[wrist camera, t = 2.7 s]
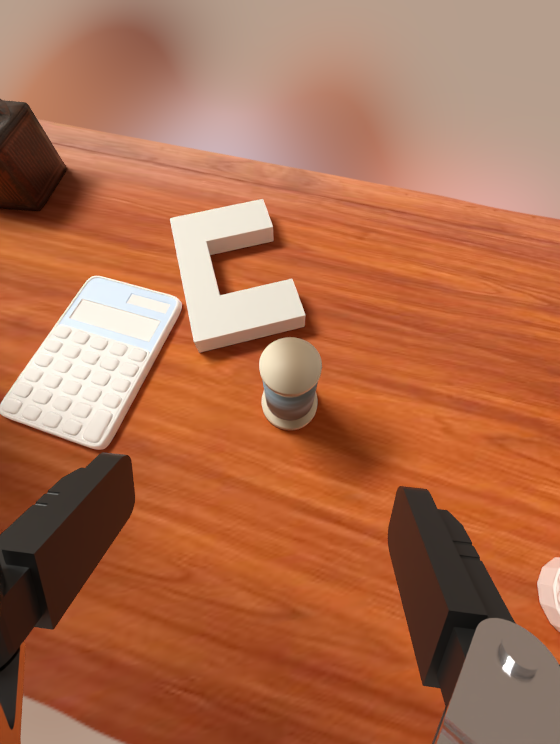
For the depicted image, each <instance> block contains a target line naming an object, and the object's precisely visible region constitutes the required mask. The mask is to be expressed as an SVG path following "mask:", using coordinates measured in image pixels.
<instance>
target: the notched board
mask: <svg viewBox="0 0 560 744" xmlns="http://www.w3.org/2000/svg"><path fill="white" fill-rule="evenodd" d="M170 222H171V227H172V232H173V237H174V242H175V247H176V252H177V258H178V263H179V268H180V273H181V278H182V283H183V288H184V293H185V298H186V304H187V309H188V314H189V319H190V324H191V329H192V334H193V339H194V343H195V345H196V347H197V349H198V351H199V353H200V352H204V351H208V350H213V349H217V348H221V347H225V346H229V345H233V344H237V343H241V342H245V341H249V340H253V339H257V338H261V337H265V336H269V335H273V334H277V333H281V332H285V331H289V330H293V329H297V328H301V327H305V316H306V315H305V312H304V309H303V307H302V304H301V301H300V299H299V296H298V293H297V290H296V288H295V285H294V282H293V280H292V279H288V280H284V281H280V282H276V283H271V284H267V285H263V286H258V287H254V288H250V289H245V290H241V291H237V292H232V293H228V294H224V295H220V293H219V289H218V285H217V281H216V277H215V273H214V269H213V265H212V261H211V257H210V255H213V254H218V253H222V252H227V251H231V250H236V249H240V248H245V247H250V246H254V245H259V244H263V243H268V242H272V241H274V236H273V225H272V222H271V220H270V217H269V214H268V212H267V209H266V206H265V203H264V201H263V199H260V200H255V201H251V202H246V203H241V204H236V205H231V206H226V207H222V208H217V209H212V210H207V211H202V212H197V213H193V214H188V215H183V216H178V217H173V218H170Z"/></svg>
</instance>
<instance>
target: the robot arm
mask: <svg viewBox="0 0 560 744" xmlns="http://www.w3.org/2000/svg"><path fill="white" fill-rule="evenodd" d="M134 503H135V491H134V482H133V472H132V463H131V458H130V457H129V456H128V455H121V454H112V453H101V454H99V455H98V456H97V457H96V458H95V459H94V460H93V461H92V462H91V463H90V464H89V465H88V466H87V467H86V468H79V469H77V470H76V471H74V472H72V473H70V474H68V475H67V476H65V477H63V478H61V479H60V480H59V481H58V482H57V483H56V484H55V485H54V486H53V487H52V488H51V489H50V490H48V493H47V494H44V495H43V496H42V497H41V498H40V499H39V500H38V501H37V502H36V504H35V505H32V506H31V507H30V508H29V509H28V510H27V511H26V512H25V513H23V514H22V515H21V516H20V517H19V518H18V519H17V520H16V521H15V522H14V523H13V524H12V525H10V526H9V527H8V528H7V529H6V530H5V531H4V532H3V533H2V534H1V535H0V744H21V742H20V735H21V716H22V700H23V682H24V665H25V643H24V640H25V639H26V637H27V636H28V634H29V633H30V632H31V630H32V629H33V628H34V627H39V628H46V629H54V628H55V626H56V625H57V624H58V622H59V621H60V619H61V618H62V616H63V615H64V613H65V612H66V610H67V609H68V607H69V606H70V604H71V603H72V601H73V600H74V598H75V597H76V596H77V594H78V593H79V591H80V590H81V588H82V587H83V585H84V584H85V582H86V581H87V579H88V578H89V576H90V575H91V573H92V572H93V570H94V569H95V568H96V566H97V565H98V563H99V562H100V560H101V559H102V557H103V556H104V554H105V553H106V551H107V550H108V548H109V547H110V545H111V544H112V542H113V541H114V540H115V538H116V537H117V535H118V534H119V532H120V531H121V529H122V528H123V526H124V525H125V523H126V522H127V520H128V519H129V517H130V515H131V513H132V510H133V507H134ZM388 547H389V552H390V556H391V560H392V564H393V568H394V572H395V576H396V580H397V584H398V588H399V592H400V596H401V600H402V604H403V608H404V612H405V616H406V620H407V624H408V628H409V632H410V636H411V640H412V644H413V648H414V652H415V656H416V660H417V664H418V668H419V672H420V676H421V680H422V684H423V686H429V687H436V688H441V692H442V695H443V699H444V702H445V709H444V711H443V714H442V717H441V719H440V722H439V725H438V728H437V730H436V733H435V736H434V739H433V741H432V744H560V665H559V664H558V662H557V661H556V659H555V658H554V656H553V655H552V653H551V652H550V651H549V650H548V649H547V648H546V646H545V645H544V644H543V643H542V642H541V641H540V640H539V639H537V638H536V637H535V636H534V635H533V634H531V633H530V632H529V631H527V630H526V629H524V628H522V627H521V626H519V625H517V624H516V623H515V622H514V620H513V618H512V616H511V615H510V613H509V611H508V609H507V607H506V605H505V603H504V602H503V600H502V598H501V596H500V594H499V592H498V590H497V589H496V587H495V585H494V583H493V581H492V579H491V577H490V575H489V574H488V572H487V570H486V568H485V566H484V564H483V562H482V561H480V557H479V555H478V553H477V551H476V549H475V548H474V546H472V542H471V540H470V538H469V536H468V535H467V533H466V531H465V529H464V527H463V525H462V524H461V523H460V522H459V521H458V520H457V519H456V518H455V517H454V516H453V515H452V514H450V513H449V512H448V511H447V510H440V509H437V507H436V505H435V503H434V501H433V498H432V496H431V494H430V492H429V491H428V490H427V489H421V488H412V487H403V486H399V487H398V489H397V492H396V497H395V501H394V505H393V510H392V514H391V519H390V523H389V528H388Z"/></svg>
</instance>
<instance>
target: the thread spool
mask: <svg viewBox="0 0 560 744" xmlns="http://www.w3.org/2000/svg"><path fill="white" fill-rule="evenodd" d="M259 369H260V374H261V377H262V380H263V386H264V392H263V395H262V408H263V412H264V415H265V417H266V418H267V420H268V421H269V422H270V423H271V424H272V425H274V426H275V427H277V428H279V429H282V430H289V431H291V430H297V429H300V428H303V427H304V426H306V425H307V424H308V423H309V422H310V421H311V420H312V419H313V417H314V415H315V413H316V410H317V405H318V399H317V394H316V387H317V383H318V380H319V378H320V374H321V369H322V362H321V357H320V355H319V353H318V351H317V350H316V349H315V347H314V346H313V345H311V344H310V343H309V342H307V341H305V340H303V339H300V338H295V337H286V338H281V339H278V340H276V341H274V342H272V343H271V344H270V345H268V346H267V347H266V348H265V350H264V351H263V353H262V355H261V358H260V362H259Z"/></svg>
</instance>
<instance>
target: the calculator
mask: <svg viewBox="0 0 560 744" xmlns="http://www.w3.org/2000/svg"><path fill="white" fill-rule="evenodd" d="M181 309H182V303H181V301H180V300H179V299H178V298H176V297H174V296H172V295H169V294H165V293H161V292H158V291H154V290H150V289H146V288H143V287H139V286H135V285H132V284H128V283H124V282H121V281H117V280H113V279H110V278H106V277H102V276H92V277H91V278H89V279H88V280H87V281H86V282H85V284H84V285H83V286H82V288H81V289H80V291H79V292H78V293H77V295H76V296H75V298H74V299H73V301H72V302H71V303H70V305H69V306H68V308H67V309H66V311H65V312H64V313H63V315H62V316H61V318H60V319H59V320H58V322H57V323H56V325H55V326H54V328H53V329H52V330H51V332H50V333H49V335H48V336H47V338H46V339H45V340H44V342H43V343H42V345H41V346H40V347H39V349H38V350H37V352H36V353H35V355H34V356H33V357H32V359H31V360H30V362H29V363H28V365H27V366H26V367H25V369H24V370H23V372H22V373H21V375H20V376H19V377H18V379H17V380H16V382H15V383H14V384H13V386H12V387H11V389H10V390H9V392H8V393H7V394H6V396H5V397H4V399H3V401H2V402H1V404H0V414H1V415H3V416H4V417H6V418H8V419H11V420H13V421H16V422H19V423H22V424H24V425H27V426H30V427H33V428H36V429H38V430H41V431H44V432H47V433H50V434H52V435H55V436H58V437H61V438H64V439H66V440H69V441H72V442H75V443H77V444H80V445H83V446H86V447H89V448H92V449H98V450H101V449H105V448H106V447H107V446H108V445H109V444H110V443H111V441H112V439H113V438H114V436H115V434H116V432H117V430H118V428H119V427H120V425H121V423H122V421H123V419H124V417H125V415H126V414H127V412H128V410H129V408H130V406H131V404H132V402H133V400H134V399H135V397H136V395H137V393H138V391H139V389H140V387H141V386H142V384H143V382H144V380H145V378H146V376H147V374H148V372H149V371H150V369H151V367H152V365H153V363H154V361H155V359H156V358H157V356H158V354H159V352H160V350H161V348H162V346H163V344H164V343H165V341H166V339H167V337H168V335H169V333H170V331H171V330H172V328H173V326H174V324H175V322H176V320H177V318H178V316H179V314H180V312H181ZM52 356H53V357H52ZM44 385H45V386H44ZM46 390H47V391H46ZM118 395H119V396H118ZM83 398H84V399H83ZM34 401H35V402H34ZM90 405H91V406H90ZM54 408H55V409H54ZM56 413H57V414H56ZM76 420H77V421H76ZM44 425H45V426H44ZM64 432H65V433H64ZM86 440H87V441H86Z"/></svg>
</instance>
